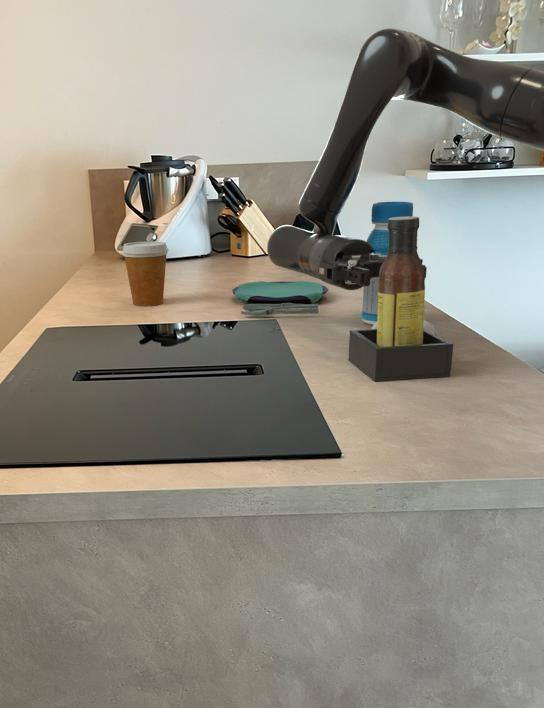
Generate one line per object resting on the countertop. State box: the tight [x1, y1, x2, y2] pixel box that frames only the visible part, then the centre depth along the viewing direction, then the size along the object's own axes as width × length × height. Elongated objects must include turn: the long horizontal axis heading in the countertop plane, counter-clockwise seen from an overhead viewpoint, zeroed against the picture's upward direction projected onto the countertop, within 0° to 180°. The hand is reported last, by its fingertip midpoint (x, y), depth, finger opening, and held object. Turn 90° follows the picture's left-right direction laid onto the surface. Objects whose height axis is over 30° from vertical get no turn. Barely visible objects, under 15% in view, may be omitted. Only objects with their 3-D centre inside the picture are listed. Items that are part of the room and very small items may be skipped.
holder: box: [347, 328, 454, 383], centre depth 110 cm, size 11×12×4 cm
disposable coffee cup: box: [121, 240, 169, 307], centre depth 162 cm, size 10×10×12 cm
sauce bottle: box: [377, 216, 426, 347], centre depth 107 cm, size 7×6×20 cm
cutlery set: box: [232, 280, 329, 316], centre depth 159 cm, size 20×30×2 cm, turn 171°
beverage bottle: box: [361, 201, 414, 326], centre depth 136 cm, size 8×8×20 cm
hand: (396, 276), depth 108 cm, fingers open, 8 cm apart
